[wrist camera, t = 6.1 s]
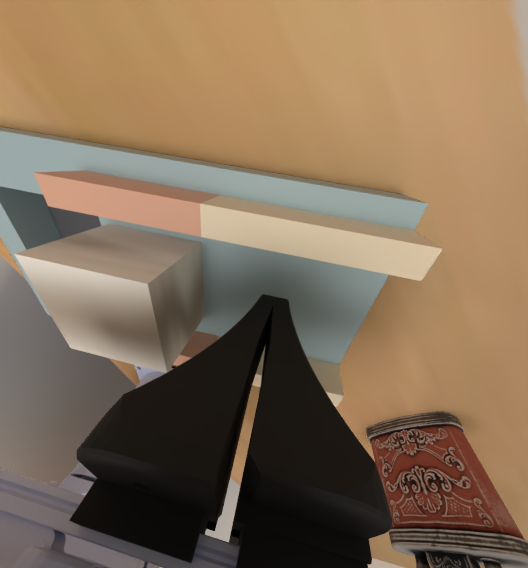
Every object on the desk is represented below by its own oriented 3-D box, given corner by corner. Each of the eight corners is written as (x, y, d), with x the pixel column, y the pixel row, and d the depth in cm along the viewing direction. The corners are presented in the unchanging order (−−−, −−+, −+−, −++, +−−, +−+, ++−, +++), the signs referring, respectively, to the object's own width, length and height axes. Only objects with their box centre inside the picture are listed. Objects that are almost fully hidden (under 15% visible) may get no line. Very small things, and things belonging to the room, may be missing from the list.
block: (204, 316, 13) (167, 373, 9) (131, 299, 13) (70, 348, 10) (201, 242, 10) (147, 284, 7) (109, 223, 10) (14, 253, 7)
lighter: (377, 441, 21) (423, 621, 13) (359, 426, 21) (394, 609, 12) (465, 426, 17) (611, 670, 9) (447, 406, 17) (589, 656, 8)
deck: (325, 355, 16) (331, 415, 12) (78, 296, 18) (16, 332, 14) (401, 194, 9) (464, 216, 6) (-1, 126, 11) (-158, 108, 7)
